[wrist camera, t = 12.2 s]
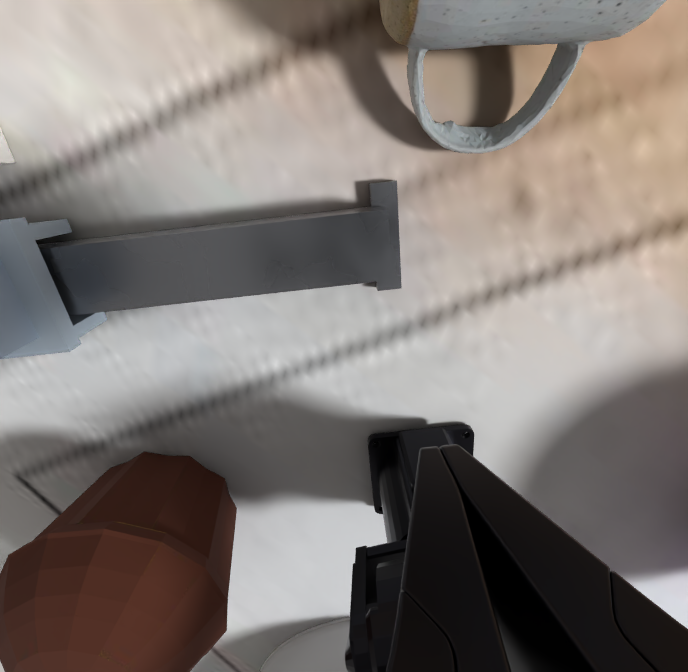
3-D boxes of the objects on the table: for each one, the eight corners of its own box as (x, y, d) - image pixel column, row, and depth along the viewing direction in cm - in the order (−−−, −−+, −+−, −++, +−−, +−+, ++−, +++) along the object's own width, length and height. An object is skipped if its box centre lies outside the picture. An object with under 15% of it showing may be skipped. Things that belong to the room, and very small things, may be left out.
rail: (399, 284, 19) (408, 299, 17) (-97, 339, 19) (-153, 361, 17) (394, 180, 17) (404, 181, 15) (-160, 244, 17) (-232, 254, 15)
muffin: (70, 423, 22) (-120, 603, 13) (257, 442, 23) (205, 621, 14) (95, 555, 26) (-31, 756, 17) (248, 566, 27) (206, 762, 18)
